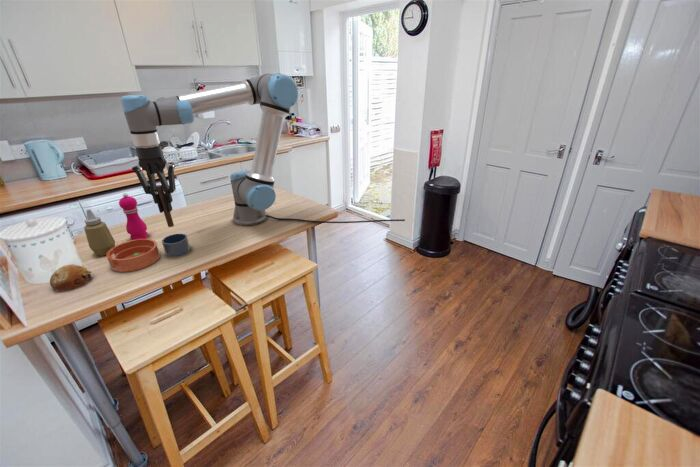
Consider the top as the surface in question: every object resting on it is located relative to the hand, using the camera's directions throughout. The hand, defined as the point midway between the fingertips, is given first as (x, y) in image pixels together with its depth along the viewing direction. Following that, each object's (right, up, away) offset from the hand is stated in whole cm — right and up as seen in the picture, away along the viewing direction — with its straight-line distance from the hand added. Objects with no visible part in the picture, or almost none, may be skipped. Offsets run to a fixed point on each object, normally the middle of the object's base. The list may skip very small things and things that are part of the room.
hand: (166, 210), depth 116 cm
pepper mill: (-22, -10, +19) cm, 31 cm away
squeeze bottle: (-28, -16, +8) cm, 33 cm away
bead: (-11, -17, +1) cm, 20 cm away
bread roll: (-25, -25, -10) cm, 37 cm away
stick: (0, -5, +3) cm, 6 cm away
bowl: (-12, -19, +2) cm, 22 cm away
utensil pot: (0, -16, +8) cm, 17 cm away
